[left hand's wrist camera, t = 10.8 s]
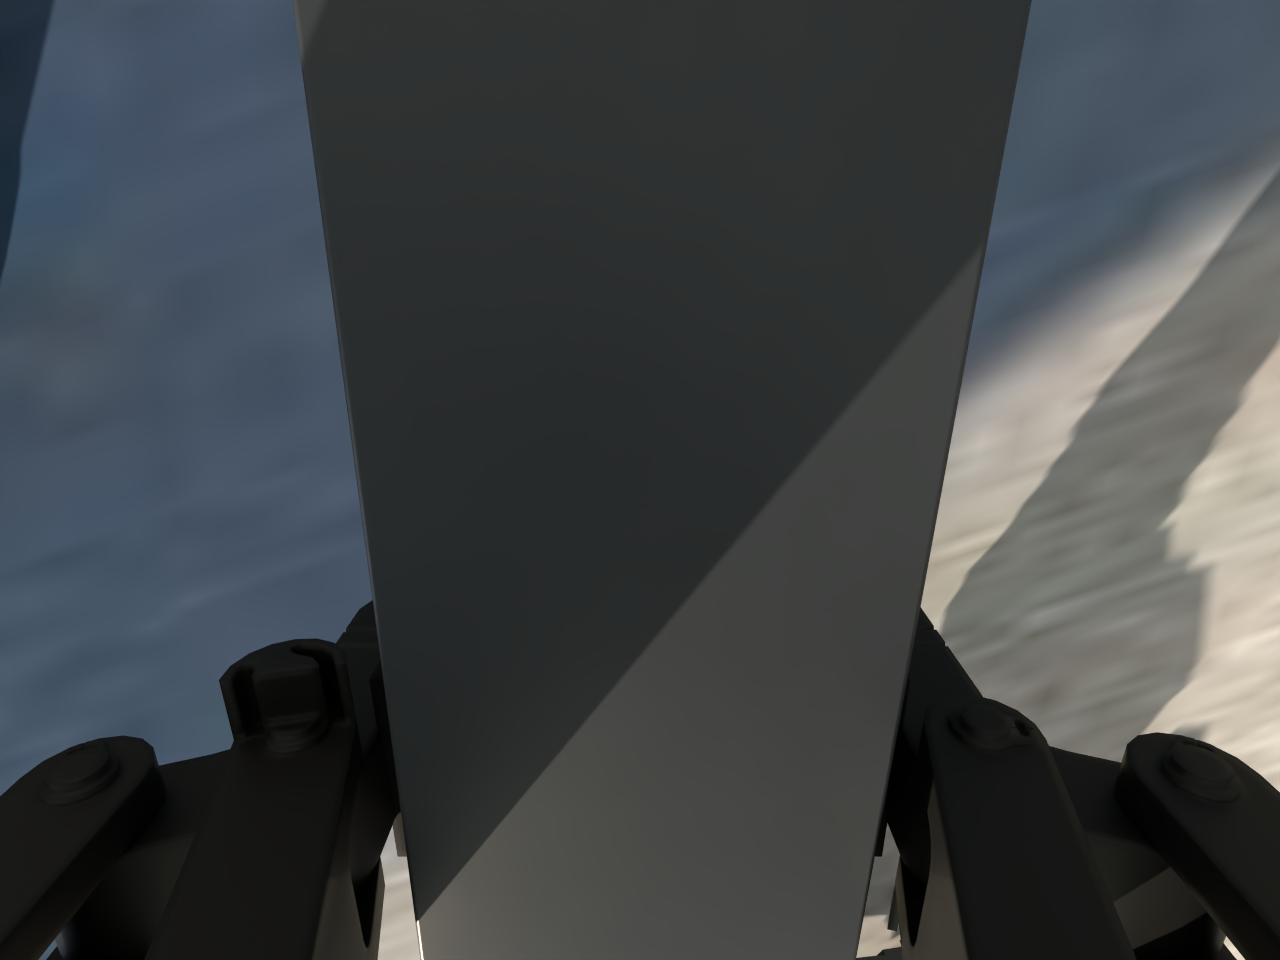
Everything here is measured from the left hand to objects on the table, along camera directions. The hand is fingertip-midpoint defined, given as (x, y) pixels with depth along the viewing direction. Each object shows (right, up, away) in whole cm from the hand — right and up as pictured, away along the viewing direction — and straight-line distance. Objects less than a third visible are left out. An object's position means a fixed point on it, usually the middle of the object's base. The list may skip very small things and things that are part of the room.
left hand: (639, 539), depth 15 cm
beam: (0, +23, -8) cm, 25 cm away
